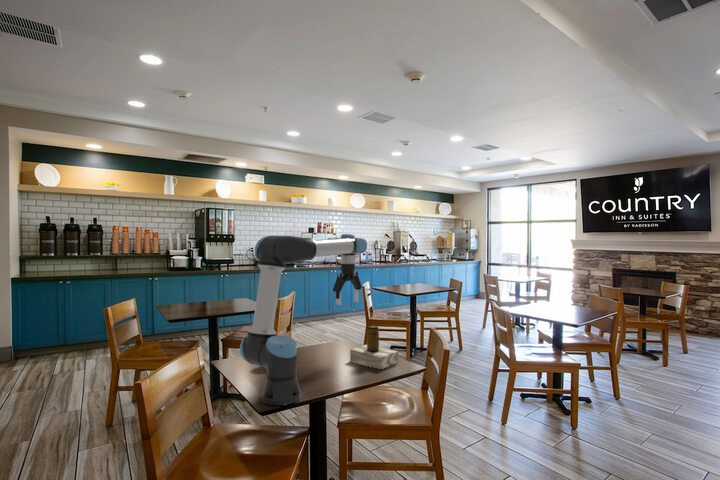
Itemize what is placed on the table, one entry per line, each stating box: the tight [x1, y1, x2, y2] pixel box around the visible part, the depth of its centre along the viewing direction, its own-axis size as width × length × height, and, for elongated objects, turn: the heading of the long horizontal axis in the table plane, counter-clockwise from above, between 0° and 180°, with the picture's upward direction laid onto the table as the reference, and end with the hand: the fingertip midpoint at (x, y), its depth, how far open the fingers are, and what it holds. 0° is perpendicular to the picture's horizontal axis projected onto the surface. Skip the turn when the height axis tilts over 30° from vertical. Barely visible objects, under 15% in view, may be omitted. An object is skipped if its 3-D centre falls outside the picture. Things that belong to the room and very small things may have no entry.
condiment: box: [363, 325, 384, 353], centre depth 196 cm, size 7×8×12 cm
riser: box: [349, 343, 399, 370], centre depth 196 cm, size 14×20×6 cm
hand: (347, 303), depth 204 cm, fingers open, 13 cm apart
